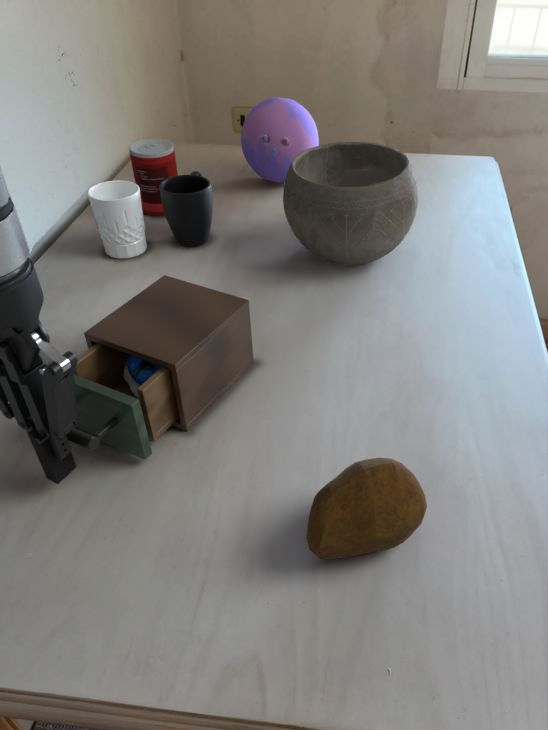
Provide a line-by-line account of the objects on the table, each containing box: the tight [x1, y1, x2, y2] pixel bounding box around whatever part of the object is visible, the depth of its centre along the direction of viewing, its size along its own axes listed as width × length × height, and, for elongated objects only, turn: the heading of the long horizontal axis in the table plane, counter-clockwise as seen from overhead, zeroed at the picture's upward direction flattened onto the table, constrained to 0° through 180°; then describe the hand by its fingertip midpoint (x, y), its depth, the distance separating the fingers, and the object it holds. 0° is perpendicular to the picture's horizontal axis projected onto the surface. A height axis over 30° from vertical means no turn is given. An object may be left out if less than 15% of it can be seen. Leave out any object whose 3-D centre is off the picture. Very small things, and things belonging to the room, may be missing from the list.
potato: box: [306, 457, 428, 560], centre depth 59 cm, size 8×12×9 cm
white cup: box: [86, 179, 148, 259], centre depth 101 cm, size 8×8×10 cm
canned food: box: [128, 138, 179, 217], centre depth 113 cm, size 8×8×11 cm
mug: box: [159, 170, 214, 248], centre depth 105 cm, size 8×12×10 cm
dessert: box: [123, 355, 163, 398], centre depth 73 cm, size 8×7×6 cm
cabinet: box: [83, 274, 255, 432], centre depth 76 cm, size 15×13×10 cm
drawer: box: [66, 343, 179, 461], centre depth 70 cm, size 18×11×8 cm, turn 153°
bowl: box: [282, 141, 419, 266], centre depth 100 cm, size 21×21×15 cm
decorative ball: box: [240, 97, 320, 184], centre depth 122 cm, size 15×15×15 cm
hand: (62, 472), depth 65 cm, fingers closed
